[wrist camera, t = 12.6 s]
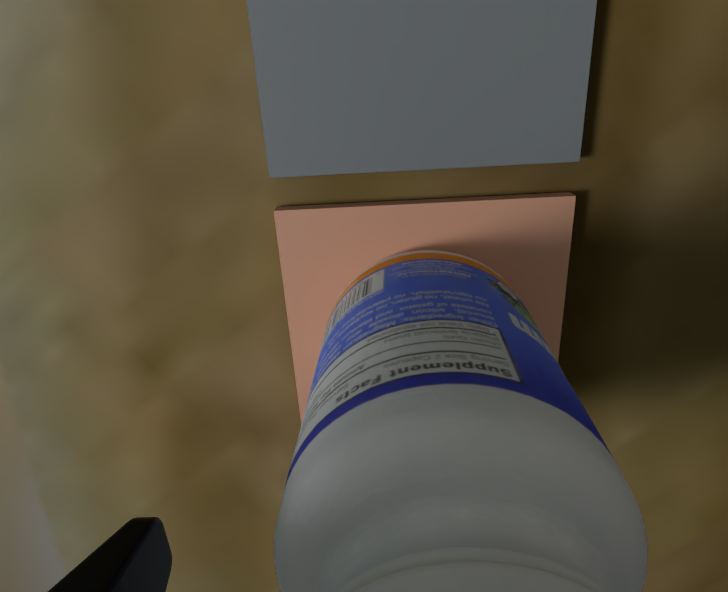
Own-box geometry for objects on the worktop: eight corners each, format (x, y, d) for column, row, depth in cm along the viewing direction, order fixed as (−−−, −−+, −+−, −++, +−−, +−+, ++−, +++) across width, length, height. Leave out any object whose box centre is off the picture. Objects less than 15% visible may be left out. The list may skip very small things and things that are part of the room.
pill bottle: (537, 404, 15) (777, 925, 6) (351, 437, 15) (305, 948, 6) (513, 220, 13) (823, 586, 4) (298, 268, 13) (125, 673, 4)
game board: (808, -1322, 6) (837, -1415, 5) (552, 610, 19) (555, 621, 18) (25, -1178, 6) (4, -1255, 6) (304, 613, 19) (302, 624, 19)
